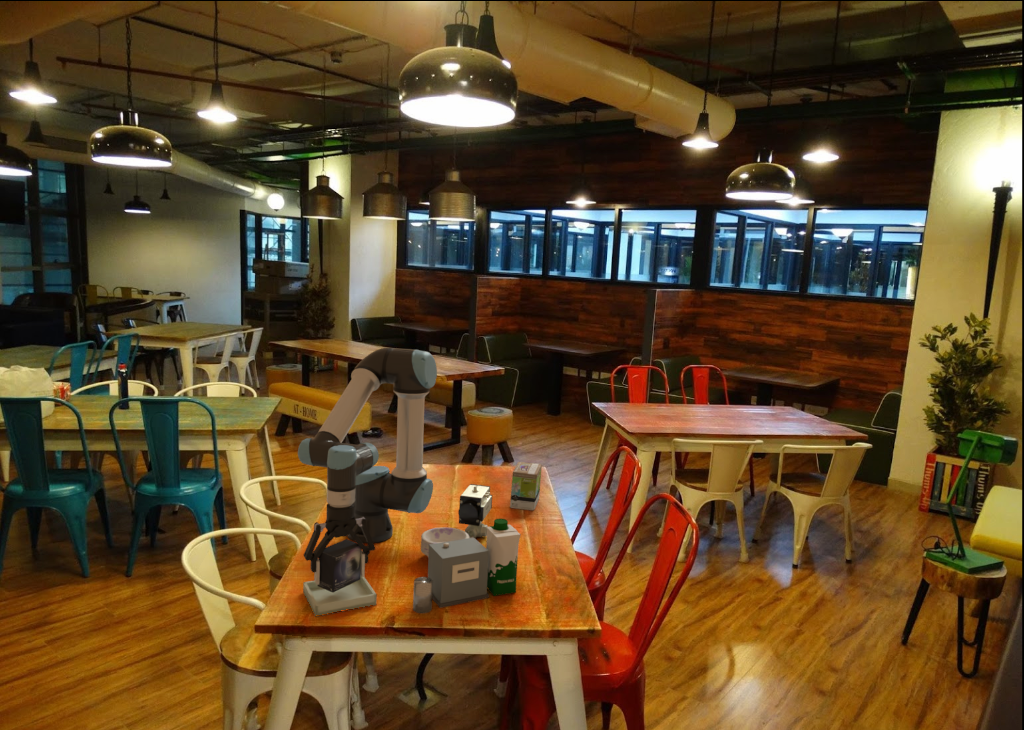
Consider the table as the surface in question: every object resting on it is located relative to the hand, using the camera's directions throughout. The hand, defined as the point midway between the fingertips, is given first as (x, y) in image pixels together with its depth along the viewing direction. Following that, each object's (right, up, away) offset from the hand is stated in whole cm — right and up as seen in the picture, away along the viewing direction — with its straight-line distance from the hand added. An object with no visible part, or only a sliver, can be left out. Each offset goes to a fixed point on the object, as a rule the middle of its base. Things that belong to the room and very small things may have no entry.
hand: (339, 578), depth 192 cm
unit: (+32, -7, +7) cm, 33 cm away
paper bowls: (+26, -3, +30) cm, 40 cm away
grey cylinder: (+23, -8, -2) cm, 24 cm away
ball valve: (+35, 0, +49) cm, 60 cm away
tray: (0, -6, +1) cm, 6 cm away
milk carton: (+44, -7, +12) cm, 46 cm away
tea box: (+53, +4, +84) cm, 99 cm away
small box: (0, -1, 0) cm, 2 cm away
